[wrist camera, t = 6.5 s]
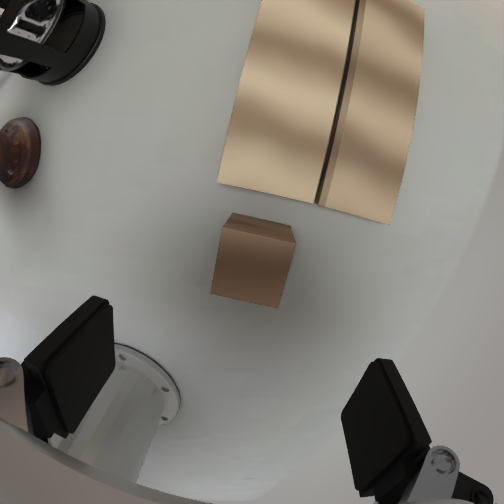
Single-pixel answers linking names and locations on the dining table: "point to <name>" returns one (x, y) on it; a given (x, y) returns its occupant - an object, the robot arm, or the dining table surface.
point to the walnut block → (253, 260)
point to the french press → (47, 38)
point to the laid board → (374, 110)
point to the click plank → (287, 97)
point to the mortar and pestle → (18, 152)
